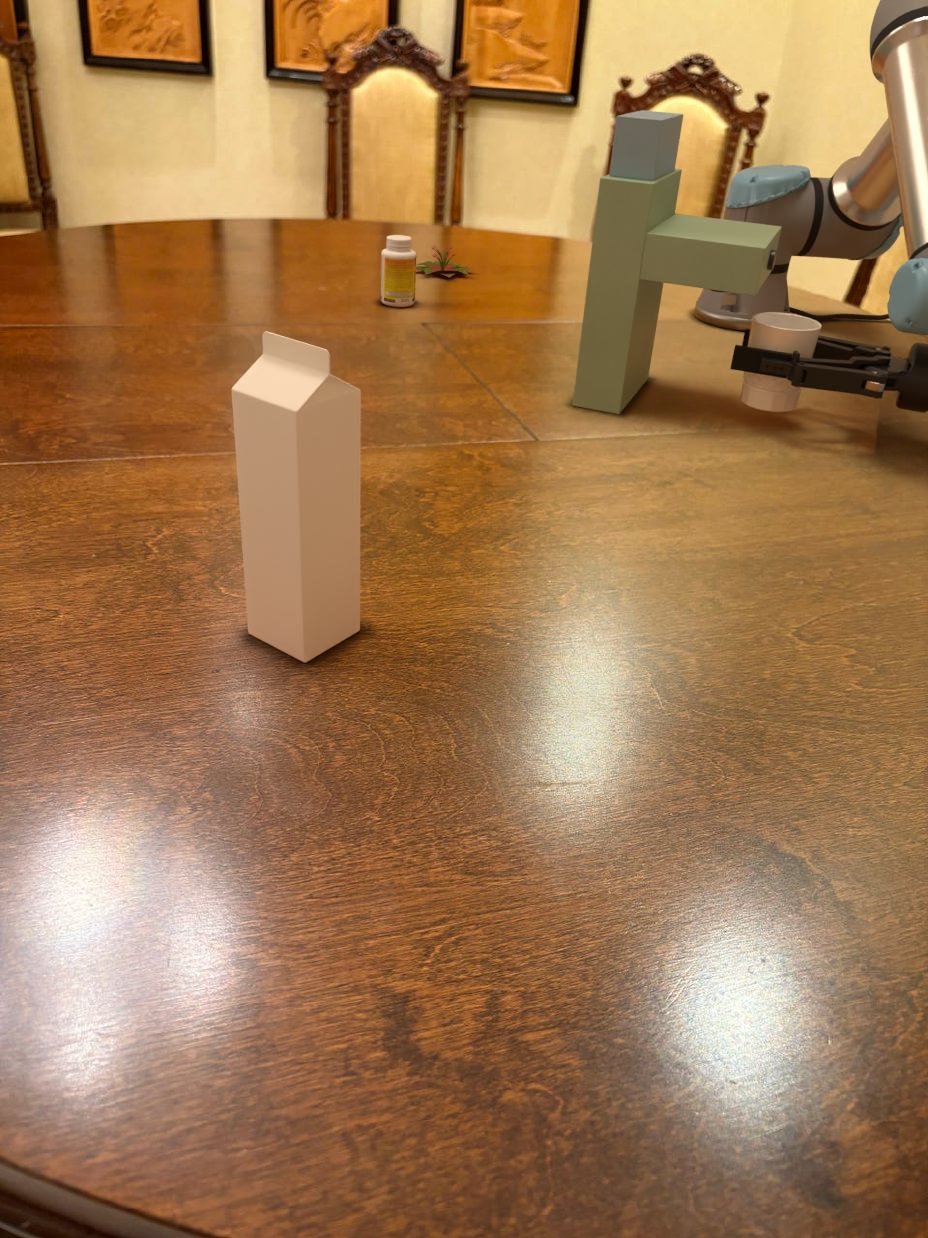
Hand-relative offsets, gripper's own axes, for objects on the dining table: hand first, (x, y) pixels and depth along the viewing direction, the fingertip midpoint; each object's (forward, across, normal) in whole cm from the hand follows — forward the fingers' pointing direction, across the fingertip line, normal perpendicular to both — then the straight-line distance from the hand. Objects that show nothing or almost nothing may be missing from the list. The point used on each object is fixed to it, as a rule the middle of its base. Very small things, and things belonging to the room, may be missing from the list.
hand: (738, 348), depth 117 cm
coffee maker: (+8, 0, +8) cm, 11 cm away
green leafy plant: (+60, -49, +8) cm, 78 cm away
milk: (+21, +68, +8) cm, 72 cm away
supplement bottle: (+57, -24, +8) cm, 62 cm away
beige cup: (-5, 0, +6) cm, 8 cm away
